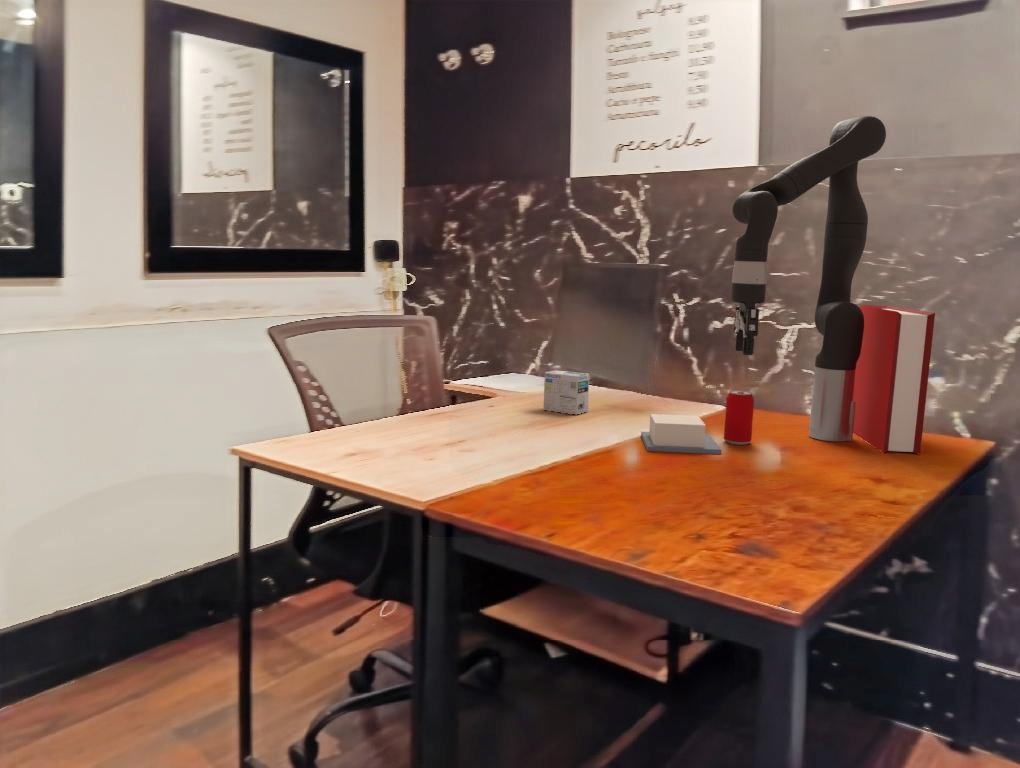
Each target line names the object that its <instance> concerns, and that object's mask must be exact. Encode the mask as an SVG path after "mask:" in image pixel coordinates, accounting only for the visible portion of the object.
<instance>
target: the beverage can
mask: <svg viewBox="0 0 1020 768" xmlns="http://www.w3.org/2000/svg"><path fill="white" fill-rule="evenodd" d="M754 406H755V398H754V395H753V392H752V391H748V390H739V389H737V390H736V389H735V390H734V389H730V390H729V391H728V394H727V396H726V399H725V412H724V413H725V415H724V416H725V417H724V429H723V430H724V431H723V440H724V441H725V442H726V443H728V444H730V445H731V444H732V445H738V446H745V445H748V444H749V443H751V442H752V434H753V433H752V432H753V421H754Z"/></svg>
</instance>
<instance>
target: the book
mask: <svg viewBox="0 0 1020 768" xmlns="http://www.w3.org/2000/svg"><path fill="white" fill-rule="evenodd" d="M859 308H860V309H861V310H862V312H863V316H864V332H863V340H862V347H861V353H860V357H859V359H858V361H857V363H856V372H855V381H854V382H855V383H854V393H853V401H855V403H856V405H855V415H854V426H853V433H854V434H853V435H855V434H856V435H857V436H856V435H855V436H856V437H858V436H859V437H861V438H862V439H863V440H862V439H861V438H860V439H861V440H862V441H864V440H865V441H867V442H868V443H870V444H871V445H873V446H874V447H876V448H877V449H879V450H881V451H882V452H885V453H887V452H902V453H903V452H904V453H905V452H906V453H907V452H909V453H914V454H916V453H919V454H920V455H921V449H922V441H923V431H924V421H925V412H926V411H925V410H926V403H927V402H926V401H927V395H928V394H927V392H928V383H929V372H930V364H931V356H932V346H933V335H934V327H935V317H936V312H933V311H926V310H919V309H913V308H908V307H907V308H906V307H900V306H894V305H893V306H892V305H875V304H874V305H871V304H870V305H869V304H860V305H859ZM859 437H858V438H859ZM865 441H864V442H865ZM867 442H866V443H867ZM868 443H867V444H868ZM870 444H869V445H870ZM871 445H870V446H871ZM873 446H872V447H873ZM874 447H873V448H874ZM876 448H875V449H876ZM877 449H876V450H877ZM879 450H878V451H879ZM882 452H881V453H882ZM919 454H918V455H919Z"/></svg>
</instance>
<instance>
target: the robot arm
mask: <svg viewBox="0 0 1020 768" xmlns="http://www.w3.org/2000/svg"><path fill="white" fill-rule="evenodd" d="M886 138H887V129H886V126H885V125H884V123H883V121H882V120H881V119H879V118H878V117H876V116H871V115H865V116H864V115H863V116H859V117H852V118H848V119H844V120H842V121H839V122H837V123H836V124H835V126H834V127H833V128H832V130H831V133H830V136H829V142H828V144H829V145H828V146H827V147H825V148H823V149H820V150H818V151H816V152H814V153H812V154H810V155H808V156H806V157H803V158H800V159H799V160H797V161H796V162H794V163H792V164H791V165H788V166H787V167H786V168H784V169H783V170H782V171H780V172H778V173H777V174H775V175H774V176H773V177H771V178H769V179H768V180H766V181H763V182H761V183H759V184H757V185H756V186H754V187H751V188H749V189H747V190H745V191H744V192H743V193H741V194H740V195H739V196H738V197H737V198H736V199H735V200H734V203H733V205H732V216H733V217H734V219H735V220H736V221H737V222H739V223H741V224H745V225H746V229H745V232H744V234H741V235H740V236H738V238H737V240H736V243H735V252H734V253H735V256H734V265H733V269H732V278H731V292H730V301H731V302H732V303H737V304H739V305H736V306H735V309H734V310H735V311H734V312H735V313H734V324H733V331H734V334H735V341H734V342H735V343H734V345H735V346H734V350H735V351H737V352H742V354H743V355H745V356H752V355H754V348H755V347H754V345H755V339H756V337H758V335H759V319H760V318H759V317H760V309H757V308H756V305H757V304H764V303H765V302H766V291H767V279H768V263H767V262H768V252H769V243H770V239H771V238H772V234H773V231H774V229H775V228H774V227H775V225H776V222H777V219H778V212H779V207H781V206H785V205H788V204H790V203H792V202H793V201H795V200H796V199H798V198H799V197H801V196H802V195H804V194H805V193H807V192H808V191H809V190H811V189H813V188H814V187H815V186H817V185H819V184H820V183H822V182H823V181H825V180H826V179H829V181H828V182H829V183H828V184H829V185H828V199H827V211H826V220H825V225H824V226H825V229H824V239H823V240H824V241H823V255H822V256H823V257H822V265H821V266H822V267H821V279H820V280H821V281H820V289H819V292H818V298H817V302H816V308H815V311H814V325H815V328H816V330H817V332H818V333H819V334H820V335H821V336H823V338H822V346H821V349H820V352H818V354H817V355H816V356H815V360H814V361H815V362H814V371H813V372H814V373H813V385H812V396H811V397H812V398H811V406H810V407H811V408H810V419H809V420H810V421H809V428H808V430H809V431H808V436H809V437H810V438H812V439H816V440H820V441H827V442H846V441H847V442H848V441H849V442H852V441H853V437H854V436H853V435H854V434H853V426H854V415H855V405H856V403H855V401H853V393H854V383H855V382H854V381H855V372H856V363H857V361H858V359H859V357H860V353H861V347H862V340H863V332H864V316H863V312H862V310H861V309H860V306H858V304H856V303H853V302H851V298H852V297H851V296H852V295H851V294H852V293H851V292H852V283H853V278H854V275H855V272H856V271H857V268H858V265H859V264H860V261H861V259H862V256H863V253H864V251H865V247H866V243H867V233H868V224H869V222H868V221H869V217H868V216H869V214H868V210H867V208H866V204H865V202H864V200H863V197H862V195H861V192H860V189H859V185H858V167H859V162H860V161H862V160H864V159H867V158H868V157H872V156H873V155H875V154H877V153H878V152H879V151H880V150H881V149H882V148H883V146H884V144H885V143H886Z"/></svg>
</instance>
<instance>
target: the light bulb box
mask: <svg viewBox="0 0 1020 768" xmlns="http://www.w3.org/2000/svg"><path fill="white" fill-rule="evenodd" d="M543 382H544V387H543V389H544V390H543V411H544V410H547V411H546V412H551V411H554V412H553V413H557V412H561V413H560V414H565V413H568V414H567V415H572V414H575V415H574V416H578V415H577V414H579V415H581V413H582V414H585V413H584V412H586V413H589V396H590V395H589V393H590V392H589V391H590V389H589V388H590V373H583V372H575V371H565V370H564V371H562V370H556V369H555V370H550V371H546V372H544V381H543Z"/></svg>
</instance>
